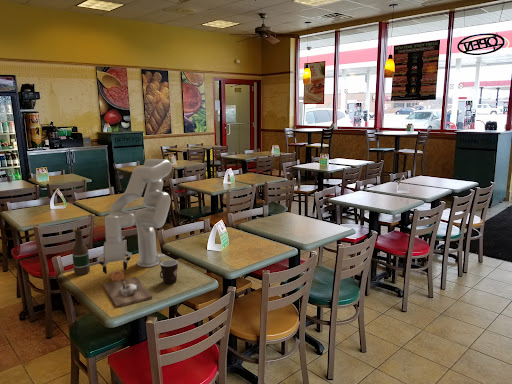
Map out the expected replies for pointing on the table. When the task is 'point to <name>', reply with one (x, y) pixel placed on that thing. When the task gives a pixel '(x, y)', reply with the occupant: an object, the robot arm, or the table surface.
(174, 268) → the coffee mug
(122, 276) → the terracotta gear
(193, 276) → the table surface
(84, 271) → the beer bottle
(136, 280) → the gear board
